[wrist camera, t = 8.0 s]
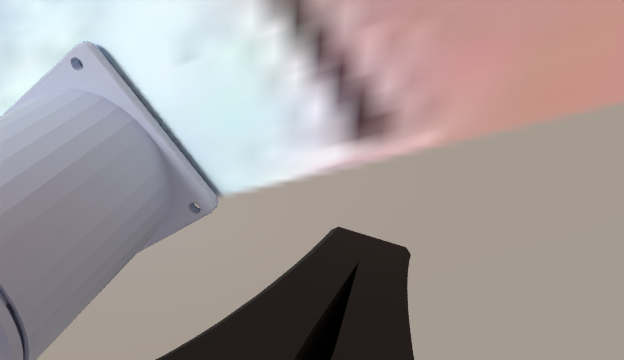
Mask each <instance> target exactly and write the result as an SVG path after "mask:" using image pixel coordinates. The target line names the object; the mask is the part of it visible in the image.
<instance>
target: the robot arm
mask: <svg viewBox="0 0 624 360" xmlns="http://www.w3.org/2000/svg"><path fill="white" fill-rule="evenodd" d="M78 59H79V60H81V62H82V64H83V67H82V66H81V65H80V64H79V62H78ZM194 203H196V204H197V205H199V207H200V208H197V207H196V206H195V205H194ZM217 204H218V200H217V197H216V195H215V194H214V193H213V191H212V190H211V189H210V188H209V186H208V185H207V184H206V183H205V181H204V180H203V179H202V178H201V176H200V175H199V174H198V173H197V171H196V170H195V169H194V168H193V166H192V165H191V164H190V163H189V161H188V160H187V159H186V158H185V156H184V155H183V154H182V153H181V151H180V150H179V149H178V148H177V146H176V145H175V144H174V143H173V141H172V140H171V139H170V138H169V136H168V135H167V134H166V133H165V131H164V130H163V129H162V128H161V126H160V125H159V124H158V123H157V121H156V120H155V119H154V118H153V116H152V115H151V114H150V113H149V111H148V110H147V109H146V108H145V106H144V105H143V104H142V103H141V101H140V100H139V99H138V98H137V96H136V95H135V94H134V93H133V91H132V90H131V89H130V88H129V86H128V85H127V84H126V83H125V81H124V80H123V79H122V78H121V76H120V75H119V74H118V73H117V71H116V70H115V69H114V68H113V66H112V65H111V64H110V63H109V61H108V60H107V59H106V58H105V56H104V55H103V54H102V53H101V51H100V50H99V49H98V48H97V47H96V46H95V45H94V44H93V43H91V42H87V41H84V42H82V43H80V44H78V45H76V46H75V47H74V48H73V49H72V50H71V51H70V52H69V53H68V54H66V55H65V56H64V57H63V58H62V59H61V60H60V61H59V62H58V63H57V64H56V65H55V66H54V67H53V68H52V69H51V70H50V71H49V72H47V73H46V74H45V75H44V76H43V77H42V78H41V79H40V80H39V81H38V82H37V83H36V84H35V85H34V86H33V87H32V88H31V89H30V90H28V91H27V92H26V93H25V94H24V95H23V96H22V97H21V98H20V99H19V100H18V101H17V102H16V103H15V104H14V105H13V106H12V107H11V108H9V109H8V110H7V111H6V112H5V113H4V114H3V115H2V116H1V117H0V360H36V359H37V358H38V357H39V356H40V355H41V354H42V353H43V352H44V351H45V350H46V349H47V348H48V347H49V346H50V344H52V342H53V341H54V340H55V339H56V338H57V337H58V336H59V335H60V334H61V333H62V332H63V331H64V330H65V328H67V326H68V325H69V324H70V323H71V322H72V321H73V320H74V319H75V318H76V317H77V316H78V315H79V314H80V313H81V312H82V311H83V310H84V309H85V307H86V306H87V305H88V304H89V303H90V302H91V301H92V300H93V299H94V298H95V297H96V296H97V295H98V293H100V292H101V291H102V289H103V288H104V287H105V286H106V285H107V284H108V283H109V282H110V281H111V280H112V279H113V278H114V277H115V276H116V275H117V274H118V272H119V271H120V270H121V269H122V268H123V267H124V266H125V265H126V264H127V263H128V262H129V261H130V260H131V259H132V258H133V256H135V254H136V253H138V252H140V251H142V250H144V249H145V248H147V247H149V246H151V245H153V244H154V243H156V242H158V241H160V240H162V239H164V238H165V237H167V236H169V235H171V234H173V233H174V232H176V231H178V230H180V229H182V228H184V227H186V226H187V225H189V224H191V223H193V222H195V221H197V220H198V219H200V218H202V217H204V216H206V215H207V214H209V213H211V212H212V211H213V210H214V209H215V208H216V207H217ZM409 259H410V253H409V251H408V250H407V248H406V247H403V246H400V245H396V244H393V243H390V242H387V241H383V240H380V239H376V238H373V237H370V236H367V235H364V234H360V233H357V232H354V231H350V230H347V229H344V228H341V227H337V228H335V229H333V230H331V231H330V232H329V233H328V234H327V235H326V236H325V237H324V238H323V239H322V240H321V241H320V242H319V243H318V244H317V245H316V246H315V247H314V248H313V249H312V250H311V251H310V252H309V253H308V254H306V255H305V256H304V257H303V258H302V259H301V260H300V261H298V262H297V264H295V265H294V266H293V267H292V268H290V269H289V270H288V271H287V272H286V273H284V274H283V275H282V276H281V277H279V278H278V279H277V280H276V281H275V282H273V283H272V284H271V285H269V286H268V287H267V288H266V289H265V290H263V291H262V292H261V293H259V294H258V295H257V296H256V297H254V298H253V299H251V300H250V301H248V302H247V303H245V304H244V305H243V306H241V307H240V308H239V309H237V310H236V311H234V312H233V313H231V314H230V315H229V316H227V317H226V318H224V319H223V320H222V321H220V322H218V323H217V324H215V325H214V326H212V327H211V328H209V329H208V330H206V331H204V332H203V333H201V334H200V335H198V336H197V337H195V338H193V339H191V340H190V341H188V342H186V343H185V344H183V345H181V346H180V347H178V348H176V349H175V350H173V351H171V352H169V353H167V354H166V355H164V356H162V357H160V358H158V359H156V360H414V356H413V350H412V343H411V333H410V325H409V315H408V300H407V299H408V298H407V296H408V295H407V277H408V265H409Z"/></svg>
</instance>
